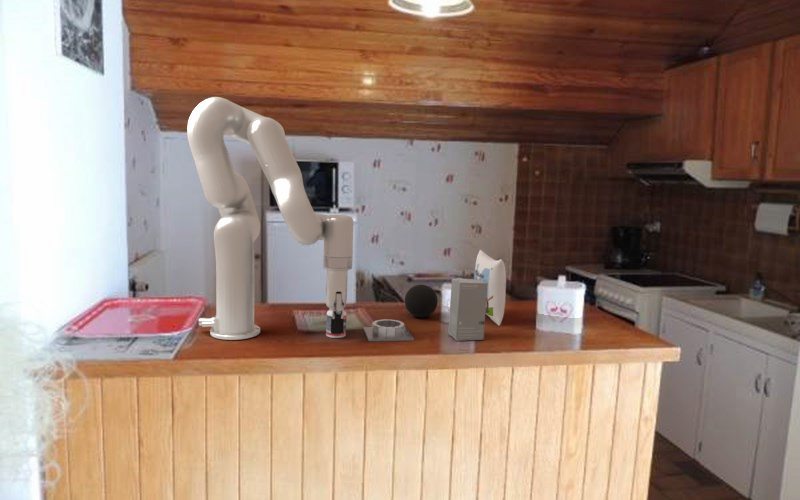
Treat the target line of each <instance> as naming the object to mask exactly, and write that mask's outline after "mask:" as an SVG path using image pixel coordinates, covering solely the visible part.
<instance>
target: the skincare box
mask: <svg viewBox="0 0 800 500" xmlns="http://www.w3.org/2000/svg"><path fill="white" fill-rule="evenodd" d="M487 284H488V283H486V282H484V281H481V280H479V279H474V278H452V279H451V288H450V302H449V303H450V304H449V305H450V306H449V316H448V317H449V318H448V329H447V331H448V332H447V333H448V335H449V336H450V337H452V338H453V339H454V340H455V341H456V342H460V341H461V342H463V341H480V340H481V341H484V339H485V337H484V336H485V325H486V314H485V312H486V299H487Z"/></svg>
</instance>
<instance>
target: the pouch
mask: <svg viewBox="0 0 800 500" xmlns="http://www.w3.org/2000/svg"><path fill="white" fill-rule="evenodd" d="M473 274H474V276H473V279H479V280H481V281H484V282H486V283H488V284H487V299H486V312H485V316H488V317H489V318H490V319H491V320H492V321H493V322H494V323H495V324H496V325H498V327H500V326H501V324H502V321H503V318H504V315H505V307H506V298H507V297H506V292H507V290H506V289H507V273H506V264H505V262H504V260H502V258H500V259H498V260H496V259H494V258H493V257H491V256H489V255H488V254H487V253H485V251H483V250H482V249H479V252H478V253H477V256H476V261H475V265H474V273H473Z"/></svg>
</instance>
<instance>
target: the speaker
mask: <svg viewBox="0 0 800 500" xmlns="http://www.w3.org/2000/svg"><path fill="white" fill-rule="evenodd" d="M438 302H439V299H438V296H437V293H436V292H435V290H434V289H433V288H432V287H431V286H429V285H426V284H416V285H413V286H412V287H410V288H409V289H408V291H407V292H406V294H405V297H404V306H405V308H406V311H408V313H409V314H410V315H411V316H412V317H416V318H427V317H430V316H431V315H432V314H434V313H435V310H436V309H437V307H438Z"/></svg>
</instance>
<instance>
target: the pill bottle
mask: <svg viewBox="0 0 800 500" xmlns="http://www.w3.org/2000/svg"><path fill="white" fill-rule="evenodd" d="M334 307H336V305H334ZM344 309H345V307H344V308H343V318H344V326H343V333H342V334H332V333H331V318H332V306H330V308H329V309H328V310H327V312H326V323H325V325H326V328H325V336H326V337H328V338H331V339H332V338H333V339H340V338H344V337H346V335H347V311H346V310H344ZM335 310H336V309H335Z"/></svg>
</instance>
